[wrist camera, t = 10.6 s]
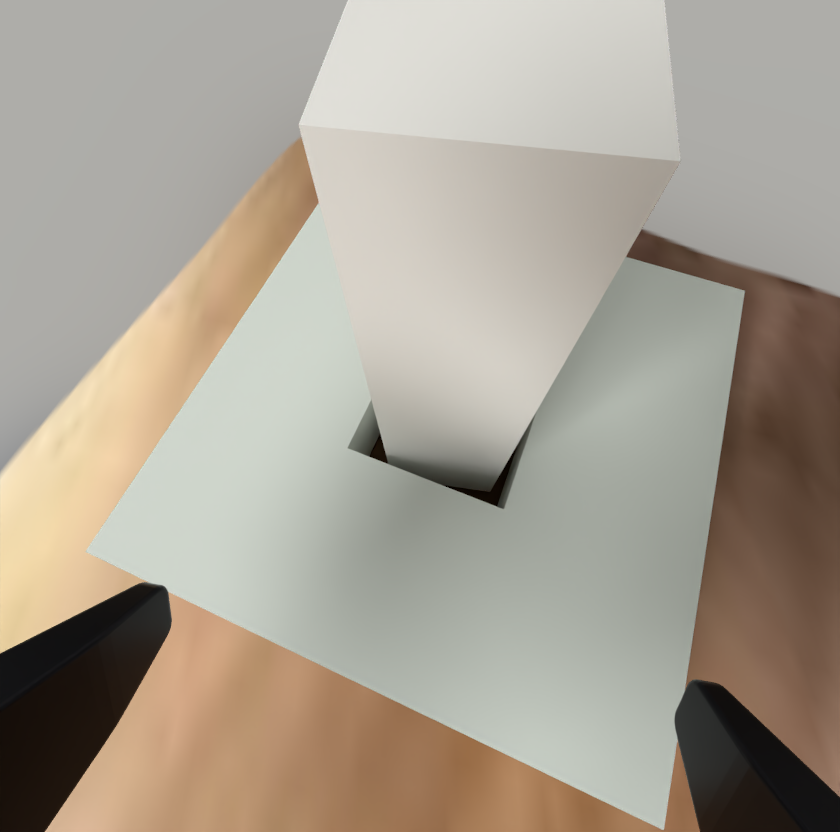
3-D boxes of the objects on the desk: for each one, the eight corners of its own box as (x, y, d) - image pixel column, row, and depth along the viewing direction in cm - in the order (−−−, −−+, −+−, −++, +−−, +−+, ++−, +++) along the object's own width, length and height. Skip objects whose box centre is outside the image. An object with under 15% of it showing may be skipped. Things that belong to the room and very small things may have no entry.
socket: (612, 780, 13) (663, 830, 10) (147, 561, 15) (85, 551, 12) (697, 337, 18) (745, 290, 16) (349, 231, 21) (337, 174, 18)
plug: (489, 492, 16) (680, 160, 4) (391, 477, 16) (298, 124, 4) (498, 402, 17) (659, -41, 5) (408, 390, 18) (372, -60, 6)
